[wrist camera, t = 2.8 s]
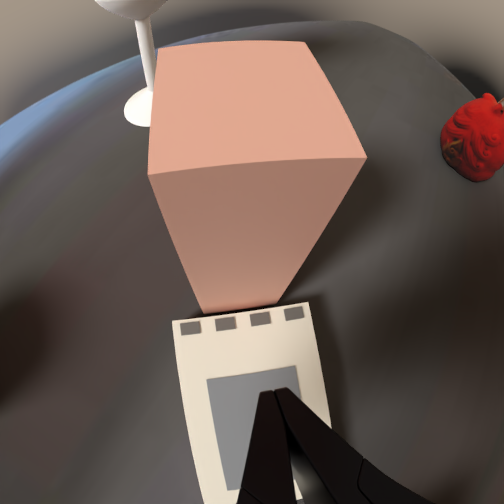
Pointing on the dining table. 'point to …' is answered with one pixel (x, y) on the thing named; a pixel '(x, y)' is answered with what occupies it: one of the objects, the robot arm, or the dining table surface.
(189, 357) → the pad
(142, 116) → the champagne flute
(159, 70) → the block
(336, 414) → the dining table surface
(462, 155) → the red clay folk toy
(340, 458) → the robot arm
